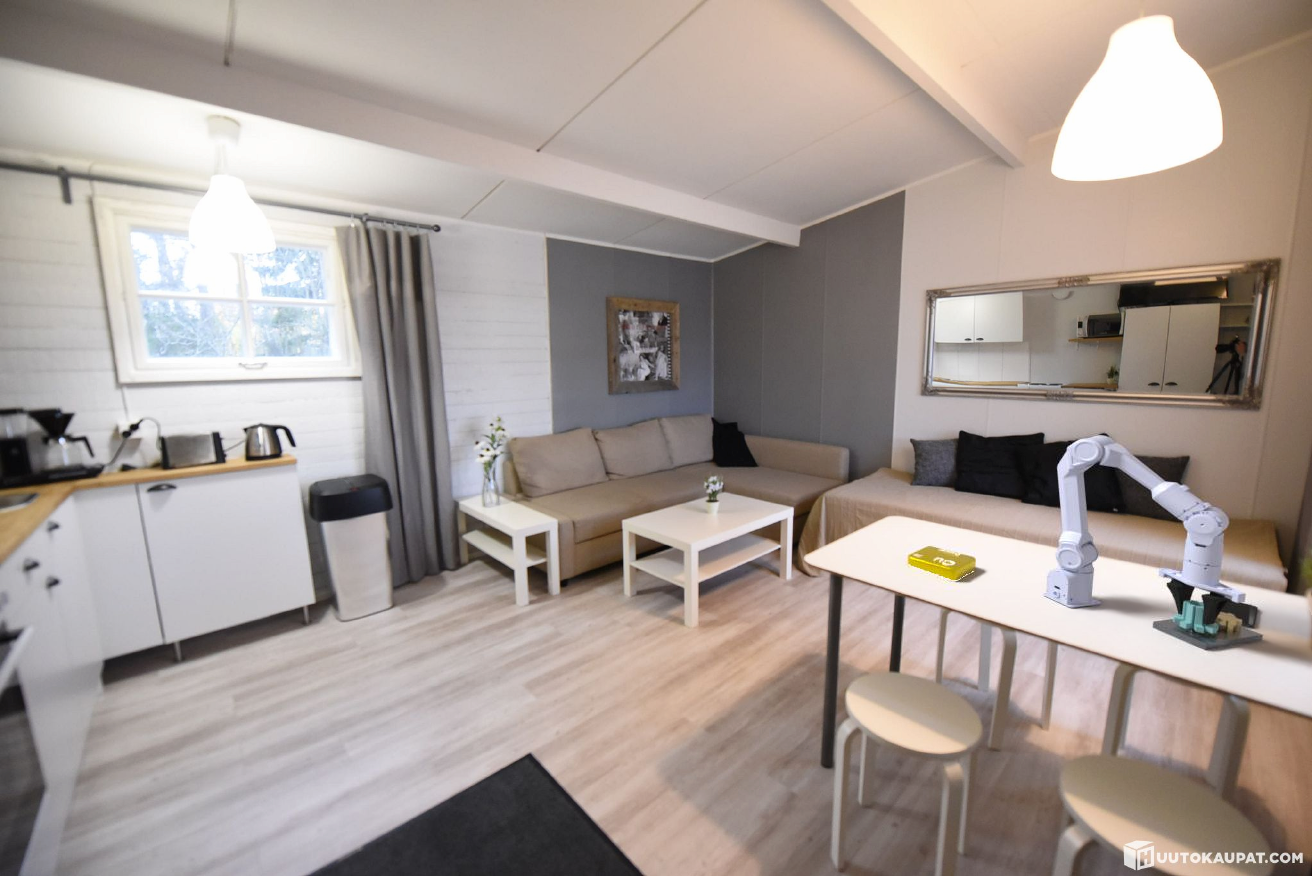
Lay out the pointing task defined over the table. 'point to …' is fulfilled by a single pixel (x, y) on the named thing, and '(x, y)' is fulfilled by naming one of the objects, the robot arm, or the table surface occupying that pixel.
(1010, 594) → the table surface
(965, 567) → the element tile
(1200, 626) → the gear
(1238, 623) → the carrier
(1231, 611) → the phone
